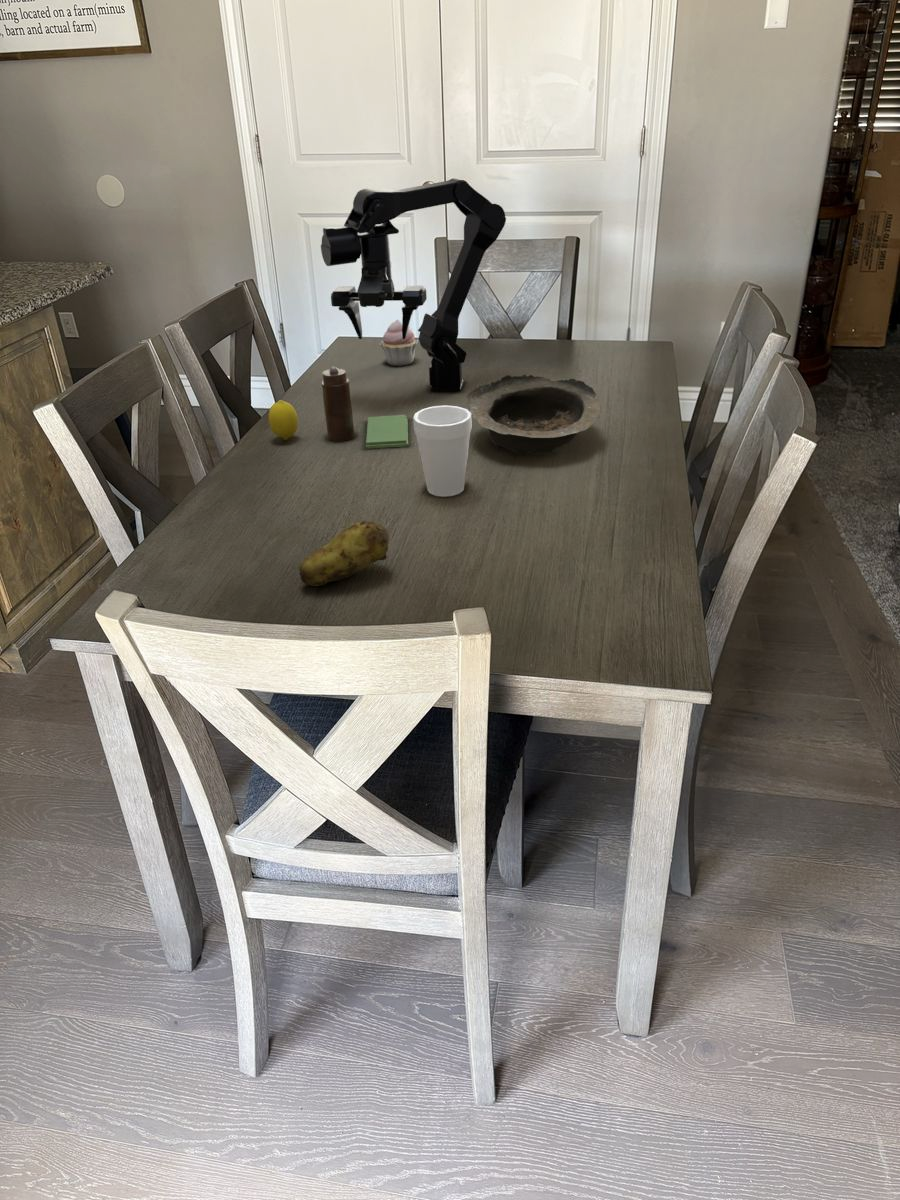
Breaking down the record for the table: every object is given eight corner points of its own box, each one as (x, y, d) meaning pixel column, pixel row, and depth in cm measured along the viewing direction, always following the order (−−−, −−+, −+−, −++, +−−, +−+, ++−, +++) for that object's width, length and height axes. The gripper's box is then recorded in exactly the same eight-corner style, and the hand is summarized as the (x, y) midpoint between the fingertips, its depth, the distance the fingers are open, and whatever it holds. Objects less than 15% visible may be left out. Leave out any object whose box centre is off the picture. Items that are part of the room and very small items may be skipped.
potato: (303, 566, 127) (296, 517, 123) (391, 559, 128) (386, 510, 123) (300, 595, 120) (292, 545, 116) (393, 588, 121) (388, 538, 116)
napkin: (407, 419, 176) (407, 414, 175) (408, 446, 164) (407, 440, 163) (368, 422, 176) (367, 416, 175) (366, 448, 164) (365, 442, 163)
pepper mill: (354, 430, 172) (346, 361, 165) (355, 440, 168) (347, 370, 160) (327, 432, 172) (319, 363, 164) (328, 442, 167) (319, 372, 160)
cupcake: (425, 357, 211) (422, 315, 206) (412, 369, 204) (409, 326, 198) (389, 355, 214) (386, 314, 208) (375, 366, 206) (371, 324, 201)
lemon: (303, 434, 171) (297, 395, 167) (296, 445, 167) (290, 405, 162) (276, 434, 172) (270, 395, 168) (268, 445, 167) (262, 405, 163)
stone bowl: (525, 405, 179) (529, 362, 174) (624, 444, 164) (631, 398, 159) (440, 439, 164) (440, 392, 159) (540, 484, 150) (544, 435, 145)
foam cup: (480, 480, 150) (478, 408, 143) (463, 503, 142) (461, 428, 135) (429, 474, 153) (425, 403, 146) (410, 497, 145) (404, 423, 138)
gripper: (319, 269, 166) (328, 350, 174) (415, 267, 163) (420, 350, 172) (334, 257, 175) (342, 334, 184) (424, 255, 173) (428, 334, 181)
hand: (382, 338), depth 180 cm, fingers open, 9 cm apart
